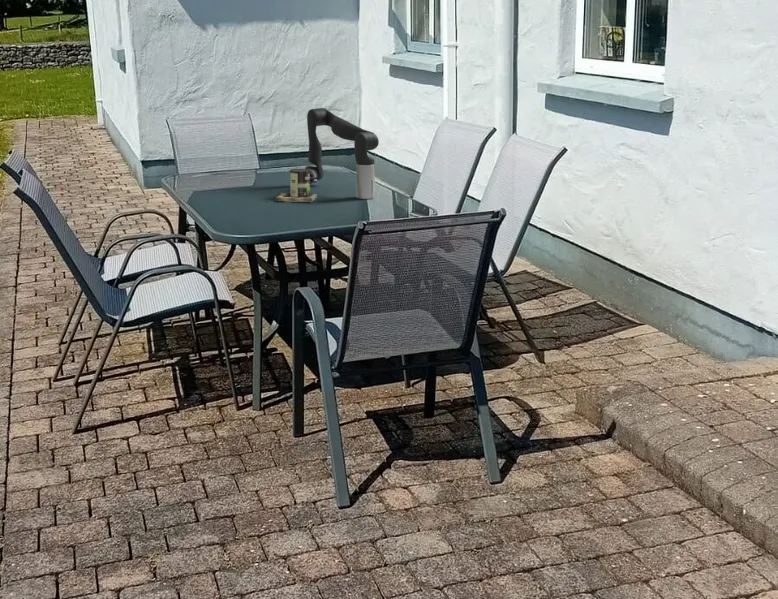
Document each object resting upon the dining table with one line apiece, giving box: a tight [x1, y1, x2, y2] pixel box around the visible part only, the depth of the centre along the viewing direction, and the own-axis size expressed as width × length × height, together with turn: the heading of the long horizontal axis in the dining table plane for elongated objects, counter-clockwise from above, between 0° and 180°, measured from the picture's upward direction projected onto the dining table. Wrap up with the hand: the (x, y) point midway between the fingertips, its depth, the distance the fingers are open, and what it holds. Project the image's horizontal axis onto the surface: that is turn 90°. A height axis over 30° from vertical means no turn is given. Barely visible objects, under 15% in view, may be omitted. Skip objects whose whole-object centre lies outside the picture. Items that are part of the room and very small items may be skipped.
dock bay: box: [275, 192, 318, 202], centre depth 494 cm, size 18×14×2 cm
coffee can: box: [289, 168, 311, 198], centre depth 500 cm, size 10×10×14 cm
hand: (301, 182), depth 505 cm, fingers closed
